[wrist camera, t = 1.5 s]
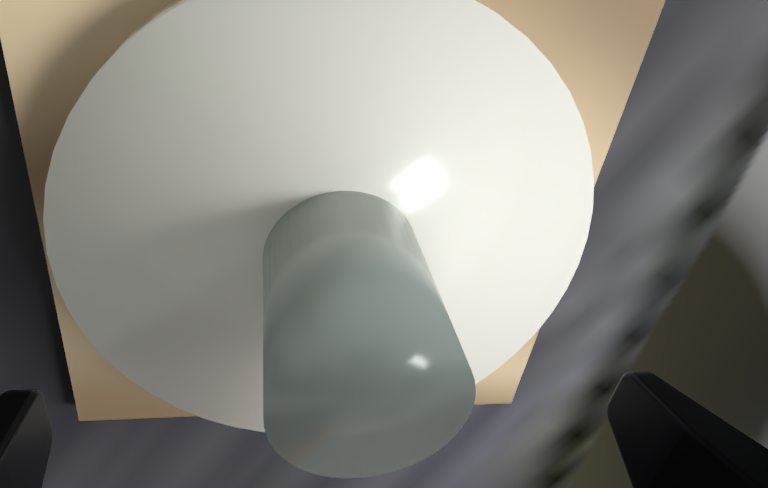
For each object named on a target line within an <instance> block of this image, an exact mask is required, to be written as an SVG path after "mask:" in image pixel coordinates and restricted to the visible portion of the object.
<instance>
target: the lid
mask: <svg viewBox="0 0 768 488" xmlns="http://www.w3.org/2000/svg"><path fill="white" fill-rule="evenodd" d="M593 194H594V175H593V165H592V156H591V149H590V145H589V142H588V138H587V134H586V130H585V126H584V123H583V120H582V118H581V115H580V113H579V111H578V109H577V106H576V104H575V102H574V100H573V97H572V95H571V93H570V91H569V89H568V88H567V86H566V85H565V83H564V82H563V80H562V79H561V77H560V76H559V74H558V73H557V71H556V70H555V68H554V67H553V65H552V64H551V62H550V61H549V60H548V59H547V58H546V57H545V56H544V55H543V54H542V53H541V51H540V50H539V49H538V48H537V47H536V46H535V45H534V44H533V43H532V42H531V41H530V39H529V38H528V37H527V36H525V35H524V34H523V33H522V32H520V31H519V30H518V29H517V28H515V27H514V26H513V25H511V24H510V23H509V22H508V21H506V20H505V19H504V18H503V17H501V16H500V15H499V14H498V13H496V12H494V11H493V10H491V9H490V8H488V7H487V6H485V5H483V4H482V3H480V2H479V1H477V0H173V1H171V2H169V3H168V4H166V5H165V6H163V7H162V8H161V9H160V10H158V11H157V12H156V13H155V14H153V15H152V16H151V17H150V18H148V19H147V20H146V21H145V22H143V23H142V24H141V25H140V26H138V27H137V28H136V29H135V30H133V32H132V33H131V34H130V35H129V36H128V37H127V38H126V39H125V40H124V41H123V43H122V44H121V45H120V46H119V47H118V48H117V49H116V50H115V51H114V52H113V54H112V55H111V56H110V57H109V58H108V59H107V60H106V62H105V63H104V64H103V65H102V67H101V68H100V69H99V71H98V72H97V73H96V74H95V76H94V77H93V78H92V79H91V81H90V82H89V84H88V85H87V87H86V89H85V90H84V92H83V93H82V95H81V96H80V98H79V99H78V101H77V102H76V104H75V106H74V107H73V109H72V110H71V112H70V113H69V115H68V117H67V120H66V122H65V124H64V127H63V129H62V131H61V134H60V136H59V138H58V141H57V143H56V145H55V148H54V150H53V154H52V158H51V163H50V167H49V171H48V175H47V180H46V184H45V196H44V213H43V224H44V232H45V241H46V250H47V255H48V259H49V262H50V266H51V269H52V273H53V276H54V279H55V283H56V286H57V288H58V290H59V292H60V294H61V296H62V298H63V300H64V302H65V305H66V307H67V309H68V311H69V313H70V314H71V316H72V317H73V319H74V320H75V322H76V323H77V325H78V326H79V328H80V329H81V331H82V332H83V334H84V335H85V337H86V338H87V339H88V340H89V341H90V343H91V344H92V345H93V346H94V347H95V348H96V349H97V350H98V351H99V352H100V354H101V355H102V356H103V357H104V358H105V359H106V360H107V361H108V362H109V363H110V364H111V365H113V366H114V367H115V368H116V369H117V370H118V371H120V372H121V373H122V374H123V375H124V376H126V377H127V378H128V379H129V380H130V381H132V382H133V383H135V384H136V385H138V386H140V387H141V388H143V389H144V390H146V391H147V392H149V393H150V394H152V395H153V396H155V397H157V398H159V399H161V400H163V401H165V402H167V403H169V404H171V405H173V406H175V407H177V408H178V409H181V410H183V411H186V412H188V413H191V414H194V415H196V416H199V417H202V418H204V419H207V420H210V421H214V422H218V423H221V424H225V425H229V426H232V427H237V428H243V429H249V430H254V431H260V432H265V433H266V436H267V438H268V440H269V442H270V444H271V446H272V447H273V448H274V450H275V451H276V452H277V453H278V454H279V455H280V456H281V457H282V458H283V459H285V460H286V461H287V462H289V463H290V464H292V465H294V466H296V467H298V468H300V469H302V470H304V471H307V472H310V473H313V474H317V475H321V476H327V477H334V478H364V477H373V476H378V475H383V474H387V473H391V472H394V471H398V470H401V469H403V468H406V467H409V466H411V465H413V464H416V463H418V462H420V461H422V460H424V459H425V458H427V457H429V456H431V455H432V454H434V453H435V452H437V451H438V450H440V449H441V448H442V447H443V446H445V445H446V444H447V443H448V442H450V441H451V440H452V439H453V438H454V437H455V436H456V435H457V433H458V432H459V431H460V430H461V428H462V427H463V426H464V424H465V423H466V421H467V419H468V418H469V416H470V413H471V411H472V409H473V405H474V401H475V395H476V386H475V384H477V383H478V382H479V381H481V380H482V379H484V378H485V377H487V376H488V375H490V374H491V373H492V372H494V371H495V370H497V369H498V368H499V367H500V366H501V365H503V364H504V363H505V362H506V361H507V360H509V359H510V358H511V357H512V356H513V355H514V354H516V353H517V352H518V351H519V350H520V349H521V348H522V347H523V346H524V345H525V344H526V343H527V342H528V341H529V339H530V338H531V337H532V336H533V335H534V334H535V333H536V332H537V331H538V330H539V328H540V327H541V326H542V325H543V323H544V322H545V321H546V319H547V318H548V317H549V316H550V314H551V313H552V312H553V310H554V309H555V307H556V306H557V304H558V302H559V301H560V299H561V298H562V296H563V294H564V293H565V291H566V290H567V288H568V286H569V284H570V281H571V279H572V277H573V275H574V273H575V271H576V269H577V267H578V265H579V262H580V259H581V256H582V253H583V250H584V247H585V244H586V241H587V238H588V233H589V227H590V222H591V217H592V211H593Z"/></svg>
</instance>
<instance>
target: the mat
mask: <svg viewBox="0 0 768 488" xmlns="http://www.w3.org/2000/svg"><path fill="white" fill-rule="evenodd" d="M171 1H173V0H0V39H1V44H2V49H3V54H4V58H5V63H6V68H7V73H8V78H9V83H10V88H11V92H12V97H13V102H14V107H15V112H16V117H17V122H18V126H19V131H20V136H21V141H22V146H23V151H24V156H25V160H26V165H27V170H28V175H29V180H30V185H31V190H32V194H33V199H34V204H35V209H36V214H37V219H38V224H39V228H40V233H41V238H42V243H43V248H44V253H45V258H46V262H47V267H48V272H49V277H50V282H51V287H52V292H53V296H54V301H55V306H56V311H57V316H58V321H59V326H60V330H61V335H62V340H63V345H64V350H65V355H66V360H67V364H68V369H69V374H70V379H71V384H72V389H73V394H74V398H75V403H76V408H77V413H78V418H79V421H92V420H116V419H140V418H164V417H188V416H196V415H194V414H191V413H188V412H186V411H183V410H181V409H178V408H177V407H175V406H173V405H171V404H169V403H167V402H165V401H163V400H161V399H159V398H157V397H155V396H153V395H152V394H150V393H149V392H147V391H146V390H144V389H143V388H141V387H140V386H138V385H136V384H135V383H133V382H132V381H130V380H129V379H128V378H127V377H126V376H124V375H123V374H122V373H121V372H120V371H118V370H117V369H116V368H115V367H114V366H113V365H111V364H110V363H109V362H108V361H107V360H106V359H105V358H104V357H103V356H102V355H101V354H100V352H99V351H98V350H97V349H96V348H95V347H94V346H93V345H92V344H91V343H90V341H89V340H88V339H87V338H86V337H85V335H84V334H83V332H82V331H81V329H80V328H79V326H78V325H77V323H76V322H75V320H74V319H73V317H72V316H71V314H70V313H69V311H68V309H67V307H66V305H65V302H64V300H63V298H62V296H61V294H60V292H59V290H58V288H57V286H56V283H55V279H54V276H53V273H52V269H51V266H50V262H49V259H48V255H47V250H46V241H45V232H44V224H43V213H44V196H45V184H46V180H47V175H48V171H49V167H50V163H51V158H52V154H53V150H54V148H55V145H56V143H57V141H58V138H59V136H60V134H61V131H62V129H63V127H64V124H65V122H66V120H67V117H68V115H69V113H70V112H71V110H72V109H73V107H74V106H75V104H76V102H77V101H78V99H79V98H80V96H81V95H82V93H83V92H84V90H85V89H86V87H87V85H88V84H89V82H90V81H91V79H92V78H93V77H94V76H95V74H96V73H97V72H98V71H99V69H100V68H101V67H102V65H103V64H104V63H105V62H106V60H107V59H108V58H109V57H110V56H111V55H112V54H113V52H114V51H115V50H116V49H117V48H118V47H119V46H120V45H121V44H122V43H123V41H124V40H125V39H126V38H127V37H128V36H129V35H130V34H131V33H132V32H133V30H135V29H136V28H137V27H138V26H140V25H141V24H142V23H143V22H145V21H146V20H147V19H148V18H150V17H151V16H152V15H153V14H155V13H156V12H157V11H158V10H160V9H161V8H162V7H163V6H165V5H166V4H168V3H169V2H171ZM477 1H479V2H480V3H482V4H483V5H485V6H487V7H488V8H490V9H491V10H493V11H494V12H496V13H498V14H499V15H500V16H501V17H503V18H504V19H505V20H506V21H508V22H509V23H510V24H511V25H513V26H514V27H515V28H517V29H518V30H519V31H520V32H522V33H523V34H524V35H525V36H527V37H528V38H529V39H530V41H531V42H532V43H533V44H534V45H535V46H536V47H537V48H538V49H539V50H540V51H541V53H542V54H543V55H544V56H545V57H546V58H547V59H548V60H549V61H550V62H551V64H552V65H553V67H554V68H555V70H556V71H557V73H558V74H559V76H560V77H561V79H562V80H563V82H564V83H565V85H566V86H567V88H568V89H569V91H570V93H571V95H572V97H573V100H574V102H575V104H576V106H577V109H578V111H579V113H580V115H581V118H582V120H583V123H584V126H585V130H586V134H587V138H588V142H589V145H590V149H591V156H592V165H593V175H594V186H595V183H596V181H597V178H598V175H599V173H600V170H601V167H602V165H603V162H604V160H605V157H606V154H607V152H608V149H609V147H610V144H611V141H612V139H613V136H614V134H615V131H616V128H617V126H618V123H619V120H620V118H621V115H622V113H623V110H624V107H625V105H626V102H627V100H628V97H629V94H630V92H631V89H632V87H633V84H634V81H635V79H636V76H637V73H638V71H639V68H640V66H641V63H642V60H643V58H644V55H645V53H646V50H647V47H648V45H649V42H650V40H651V37H652V34H653V32H654V29H655V26H656V24H657V21H658V19H659V16H660V13H661V11H662V8H663V6H664V3H665V0H477ZM539 329H540V328H539ZM538 332H539V330H538V331H537V332H536V333H535V334H534V335H533V336H532V337H531V338H530V339H529V341H528V342H527V343H526V344H525V345H524V346H523V347H522V348H521V349H520V350H519V351H518V352H517V353H516V354H514V355H513V356H512V357H511V358H510V359H509V360H507V361H506V362H505V363H504V364H503V365H501V366H500V367H499V368H498V369H497V370H495V371H494V372H492V373H491V374H490V375H488V376H487V377H485V378H484V379H482V380H481V381H479V382H478V383H477V384H475V386H476V395H475V401H474V405H475V404H499V403H511V402H512V400H513V397H514V395H515V392H516V389H517V387H518V384H519V382H520V379H521V376H522V374H523V371H524V368H525V366H526V363H527V361H528V358H529V355H530V353H531V350H532V348H533V345H534V342H535V340H536V337H537V335H538Z"/></svg>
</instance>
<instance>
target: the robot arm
mask: <svg viewBox="0 0 768 488" xmlns="http://www.w3.org/2000/svg"><path fill="white" fill-rule="evenodd" d="M607 415H608V419H609V422H610V425H611V428H612V430H613V433H614V436H615V439H616V442H617V444H618V447H619V450H620V452H621V455H622V458H623V461H624V464H625V467H626V469H627V472H628V475H629V477H630V480H631V483H632V486H633V488H768V449H767V448H765V447H764V446H763V445H761V444H759V443H758V442H756V441H755V440H753V439H752V438H750V437H749V436H747V435H746V434H744V433H743V432H741V431H740V430H738V429H737V428H735V427H734V426H732V425H731V424H729V423H728V422H726V421H724V420H723V419H721V418H720V417H718V416H717V415H715V414H714V413H712V412H711V411H709V410H708V409H706V408H705V407H703V406H702V405H700V404H699V403H697V402H695V401H694V400H692V399H691V398H689V397H688V396H686V395H685V394H683V393H682V392H680V391H679V390H677V389H676V388H674V387H673V386H671V385H670V384H668V383H667V382H665V381H664V380H662V379H661V378H659V377H658V376H656V375H655V374H653V373H651V372H647V371H632V372H626V373H625V374H624V375H623V376H622V377H621V379H620V381H619V383H618V385H617V387H616V389H615V391H614V393H613V395H612V397H611V398H610V400H609V403H608V406H607ZM51 442H52V429H51V425H50V420H49V416H48V412H47V408H46V404H45V400H44V396H43V394H42V393H41V392H40V391H39V390H10V391H6V392H4V393H3V394H1V395H0V488H42V483H43V479H44V475H45V470H46V466H47V461H48V457H49V453H50V448H51Z"/></svg>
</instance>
